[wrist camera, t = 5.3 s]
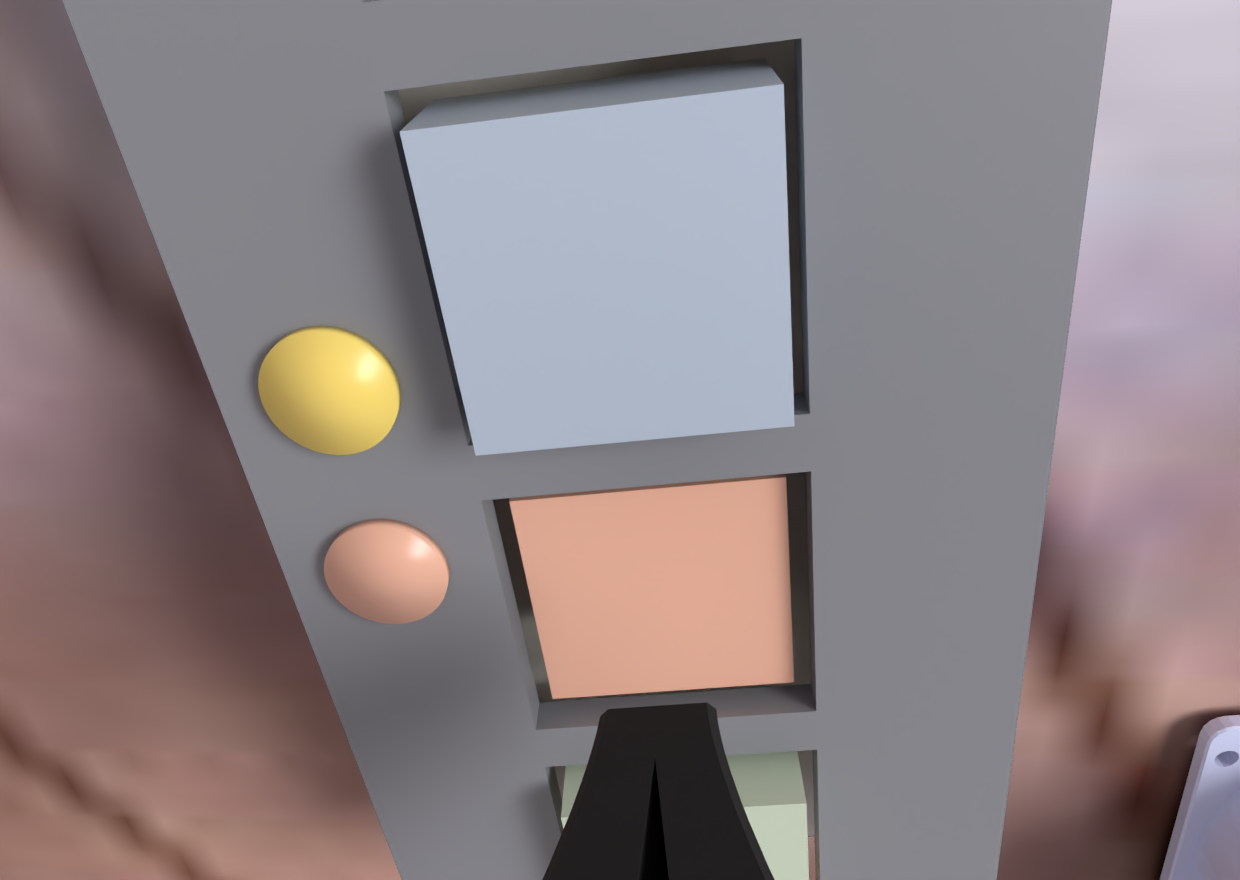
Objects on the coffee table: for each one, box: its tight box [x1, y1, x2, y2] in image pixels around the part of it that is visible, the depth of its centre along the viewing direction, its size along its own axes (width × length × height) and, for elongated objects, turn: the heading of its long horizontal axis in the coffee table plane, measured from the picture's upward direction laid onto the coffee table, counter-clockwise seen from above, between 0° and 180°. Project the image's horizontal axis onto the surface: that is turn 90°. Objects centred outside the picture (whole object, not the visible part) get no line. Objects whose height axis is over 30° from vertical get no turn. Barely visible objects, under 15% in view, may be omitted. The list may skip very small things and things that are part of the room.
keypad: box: [62, 0, 1112, 880], centre depth 14 cm, size 24×11×5 cm, turn 7°
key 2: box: [509, 474, 794, 699], centre depth 15 cm, size 4×4×2 cm
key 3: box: [400, 58, 795, 456], centre depth 11 cm, size 4×4×2 cm
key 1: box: [561, 751, 809, 880], centre depth 17 cm, size 4×4×2 cm
